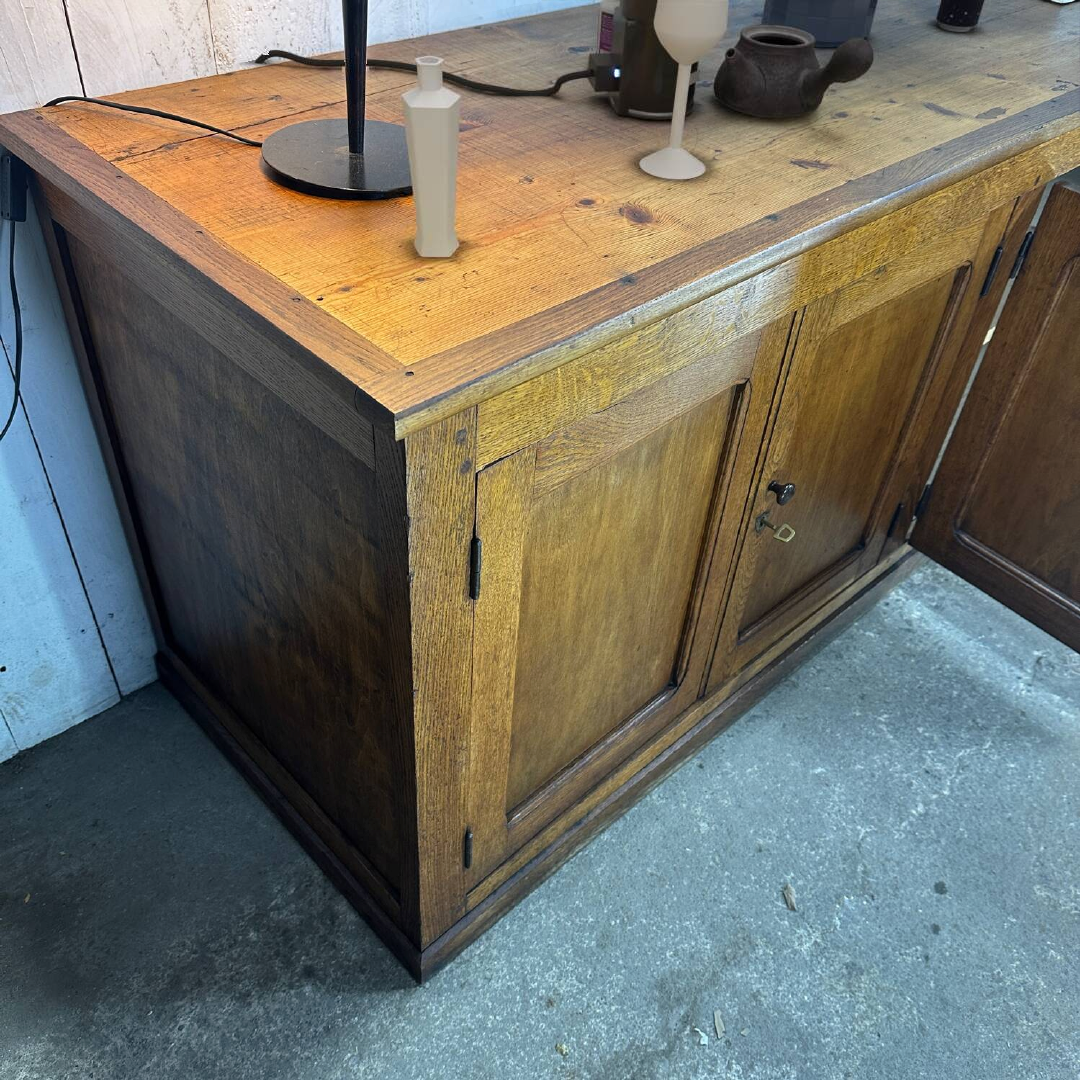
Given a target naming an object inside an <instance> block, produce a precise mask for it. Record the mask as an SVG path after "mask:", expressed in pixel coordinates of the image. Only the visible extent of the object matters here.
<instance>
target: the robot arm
mask: <svg viewBox="0 0 1080 1080" xmlns="http://www.w3.org/2000/svg"><path fill="white" fill-rule="evenodd" d="M657 2H658V0H620V4H619V6H617V7H615V8H614V16H613V28H612V41H611V53H596V52H595V53H589V54H588V66H587V69H585V70H579V71H573V72H569V73H565V74H563V75H562V76H560V77H558V78H557V79H556V80H555V83H554V85H553V86H552V87H548V88H544V89H537V90H526V89H525V90H524V89H523V90H522V89H516V88H510V87H505V86H500V85H494V84H488V83H482V82H476V81H473V80H471V79H467V78H464V77H461V76H458V75H457V74H453V73H450V72H447V71H444V70H442V80H447V81H450V82H453V83H455V84H458V85H461V86H464V87H466V88H469V89H473V90H476V91H482V92H487V93H492V94H493V93H494V94H499V95H503V96H504V95H505V96H509V97H510V96H511V97H548V96H549V97H550V96H553V95H555V94H557V93H558V92H559V91H561V90H560V89H561V88H562V85H564V84H566V83H568V82H570V81H575V80H580V79H587V81H588V83H589V84H590V87H591V88H592V89H593V91H594V92H595V93H606V98H607V100H608V102H609V104H610V106H611V107H612V108H613V110H614V111H615V113H616V115H617V116H627V117H628V116H629V117H634V118H638V119H644V120H657V121H659V120H660V121H662V120H663V121H664V120H672V118H673V109H674V101H675V93H676V85H677V77H678V68H679V63H678V62H677V61H675V60H674V59H673V58H672V57H671V56H670V54H669V53H668V52H667V50H666V49H665V48H664V46H663V45H662V44H661V42H660V40H659V38H658V37H657V34H656V31H655V28H654V18H655V12H656V7H657ZM268 51H269V50H268ZM268 54H269V55H263V53H261V54H260V55H259V56H258V57H257V58H256V60H255V61H254V64H263V63H264V62H266V61H267V60H268V59H272V58H282V59H286V60H289V61H292V62H295V63H298V64H302V65H305V66H310V67H320V68H322V67H323V68H341V67H342V68H344V67H345V62H344V60H345V59H320V58H319V59H318V58H317V59H316V58H309V57H305V56H302V55H299V54H295V53H292V52H289V51H285V50H281V49H270V51H269V53H268ZM366 59H367V64H366V66H365V67H377V68H387V69H396V70H397V69H398V70H403V71H409V72H414V73H417V64H413V63H408V62H402V61H395V60H387V59H375V58H370V59H369V58H366ZM699 62H700V60H699V61H697V62H695V63H693V64H692V65H691V72H690V80H689V88H688V95H687V103H686V111H685V117H686V116H688V115H690V114H691V113H692V112H693V110H694V107H695V106H694V105H695V95H696V87H697V86H696V84H697V82H699V81H700V77H701V76H700V75H701V69H699Z"/></svg>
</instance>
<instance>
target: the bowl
mask: <svg viewBox="0 0 1080 1080" xmlns="http://www.w3.org/2000/svg"><path fill="white" fill-rule="evenodd" d="M878 1H879V0H764V5H763V12H762V17H761V23H760V25H769V26H786V27H791V28H796V29H799V30H803V31H806V32H808V33H810V34H811V35H812V36H814V38H815V40H816V41H815V44H814V48H815V47H817V48H838V47H839V46H840V45H842V44H843V43H845V42H846V41H848V40H850V39H852V38H863V39H865V38H866V37H868V36H870V34H871V30H872V26H873V21H874V17H875V13H876V10H877V5H878Z"/></svg>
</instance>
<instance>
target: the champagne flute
mask: <svg viewBox="0 0 1080 1080" xmlns="http://www.w3.org/2000/svg"><path fill="white" fill-rule="evenodd" d="M729 3H730V0H658V2H657V7H656V12H655V18H654V28H655V31H656V34H657V37H658V38H659V40H660V42H661V44H662V45H663V46H664V48H665V49H666V50H667V52H668V53H669V54H670V56H671V57H672V58H673V59H674V60H675V61H677V62H678V63H679V68H678V77H677V85H676V93H675V101H674V109H673V118H672V119H671V125H670V126H671V127H670V133H669V134H670V135H669V142H668V146H666V147H664V148H662V149H660V150H657V151H655V152H653V153H651V154H649V155H646V156H645V157H642V158H641V160H640V161H639V163H638V165H639V167H640V169H641V170H642V171H644V172H645V173H647V174H649V175H651V176H654V177H658V178H661V179H668V180H688V179H689V180H690V179H693V178H697V177H700V176H702V175H703V174H704V173H705V172H706V166H705V164H704V163H703V162H702V161H701V160H699V159H698V158H696V156H693V155H692V154H691V153H690V152H688V151H687V150H686V149H684V148H683V147H682V142H683V133H684V132H683V131H684V126H685V117H686V116H685V111H686V103H687V95H688V88H689V80H690V72H691V65H692V64H693V63H695V62H697V61H699V62H700V61H701V60H702V59H703V58H704V57H705V56H707V54H709V53H710V52H711V51H712V50H713V49H715V48H716V46H717V45H718V44H719V43H720V42H721V41H722V39H723V37H724V36H725V34H726V31H727V28H728V19H729Z"/></svg>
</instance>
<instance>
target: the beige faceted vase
mask: <svg viewBox="0 0 1080 1080" xmlns="http://www.w3.org/2000/svg"><path fill="white" fill-rule="evenodd" d="M414 61H415V63H416V65H417V72H416V73H417V86H415V87H413V88H411V89H409V90H407V91H406V92H403V93H402V94H400V96H401V104H402V112H403V113H402V114H403V120H404V121H403V122H404V129H405V138H406V146H407V153H408V155H407V156H408V163H409V170H410V179H411V180H410V181H411V187H412V195H413V196H412V197H413V204H414V212H415V219H416V220H415V221H416V232H415V236H414V241H413V246H414V249H415V250H416V252H417V253H418V255H419V256H420V257H421V258H450V257H452V256H453V254H454V253H455V252H456V251H457V249H458V248H459V247H460V243H459V240H458V236H457V233H456V230H455V225H456V223H455V222H456V205H457V186H458V185H457V183H458V182H457V181H458V162H459V141H460V121H461V120H460V119H461V102H462V101H461V100H462V96H461V95H459V94H458V93H456V92H454V91H453V90H451V89H449V88H447V87H445V86H444V85H443V78H442V71H443V62H444V61H445V59H444V58H441V57H437V56H434V55H425V56H420V57H415V58H414Z"/></svg>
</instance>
